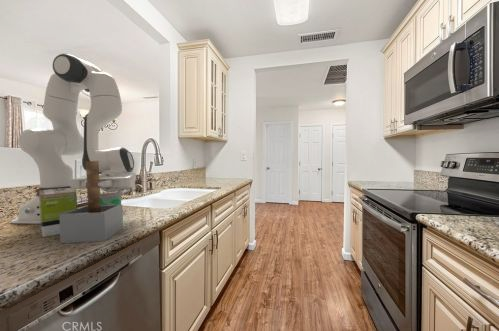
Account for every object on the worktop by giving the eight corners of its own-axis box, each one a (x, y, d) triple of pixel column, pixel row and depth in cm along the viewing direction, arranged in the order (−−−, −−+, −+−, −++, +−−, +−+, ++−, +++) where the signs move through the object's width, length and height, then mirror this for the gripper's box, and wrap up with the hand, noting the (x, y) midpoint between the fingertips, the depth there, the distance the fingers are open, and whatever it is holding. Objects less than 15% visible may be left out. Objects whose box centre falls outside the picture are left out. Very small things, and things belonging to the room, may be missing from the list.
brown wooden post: (77, 222, 74) (74, 161, 73) (86, 218, 78) (84, 161, 78) (103, 220, 75) (101, 160, 74) (111, 216, 80) (108, 160, 79)
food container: (109, 215, 104) (109, 194, 103) (98, 214, 105) (98, 193, 105) (129, 209, 116) (128, 190, 115) (118, 209, 117) (118, 190, 117)
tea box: (40, 228, 85) (38, 189, 85) (73, 222, 92) (72, 187, 92) (41, 237, 75) (39, 193, 74) (78, 230, 82) (77, 190, 81)
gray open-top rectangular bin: (60, 243, 69) (59, 214, 69) (85, 229, 82) (84, 205, 82) (105, 240, 71) (104, 212, 71) (122, 228, 84) (122, 204, 84)
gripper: (83, 173, 88) (57, 176, 74) (138, 172, 90) (123, 174, 76) (84, 189, 88) (58, 195, 74) (138, 187, 90) (124, 192, 77)
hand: (92, 184), depth 75 cm, fingers closed on brown wooden post, 4 cm apart
